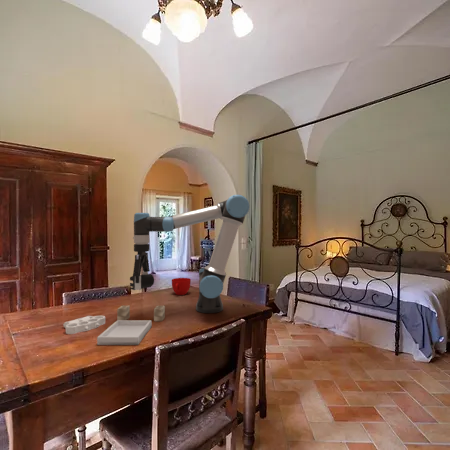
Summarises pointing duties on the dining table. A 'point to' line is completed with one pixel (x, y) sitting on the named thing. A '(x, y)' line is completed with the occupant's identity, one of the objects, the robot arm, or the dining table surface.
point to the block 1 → (123, 313)
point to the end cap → (143, 281)
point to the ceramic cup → (181, 285)
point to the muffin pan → (83, 324)
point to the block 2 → (159, 313)
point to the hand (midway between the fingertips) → (141, 286)
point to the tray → (125, 332)
